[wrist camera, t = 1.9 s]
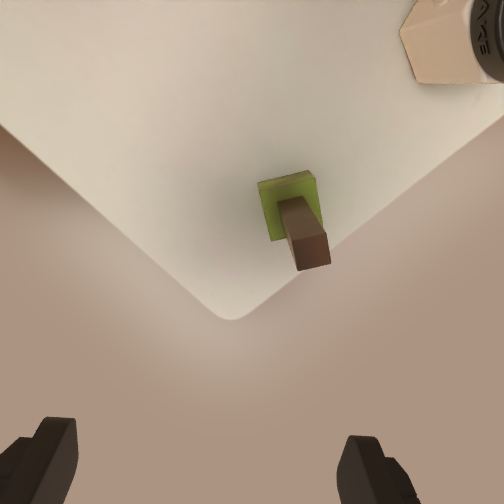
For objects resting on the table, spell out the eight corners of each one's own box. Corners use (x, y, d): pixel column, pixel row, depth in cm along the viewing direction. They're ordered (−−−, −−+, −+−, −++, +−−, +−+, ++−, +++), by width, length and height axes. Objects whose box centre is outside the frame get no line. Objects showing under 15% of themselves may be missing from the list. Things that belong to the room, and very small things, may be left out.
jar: (450, -60, 28) (590, -152, 17) (525, 2, 30) (693, -43, 19) (379, 57, 31) (459, 43, 20) (451, 106, 33) (559, 118, 22)
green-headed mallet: (308, 169, 35) (343, 210, 24) (316, 218, 37) (352, 275, 26) (257, 182, 35) (268, 228, 24) (268, 230, 37) (283, 291, 26)
